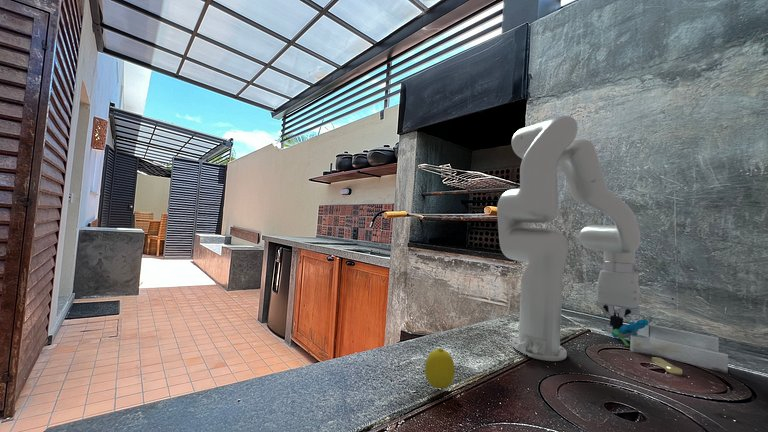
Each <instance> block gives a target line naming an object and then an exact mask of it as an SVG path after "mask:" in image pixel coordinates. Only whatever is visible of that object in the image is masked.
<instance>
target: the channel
mask: <svg viewBox="0 0 768 432" xmlns="http://www.w3.org/2000/svg"><path fill="white" fill-rule="evenodd" d="M638 320H639V319H638ZM638 320H637V319H636V320H634V323H636V322H637V321H638ZM638 330H639V331H637V333H638V334H637V335H638V336H635V335H630V340H629V341H630V342H629V351H631V352H632V353H638V354H639V353H640V354H647V355H653V356H656V357H659V358H665V359H668V360H672V361H677V362H681V363H686V364H689V365H692V366H697V367H700V368H705V369H708V370H712V371H717V372H721V373H725V374H729V373H728V372H729V371H728V370H729V354H727V353H722V352H719V351H720V349H719V347H720V346H719V345H720V339H719V337H716V336H712V335H711V336H710V335H707V334H702V333H698V332H697V333H696V332H690V331H688V330H687V331H685V330H680V329H675V328H670V327H668V326H667V327H666V326H660V325H657V324H652V323H649V324H648V325H646V327H645V328H642V329H638Z"/></svg>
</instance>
